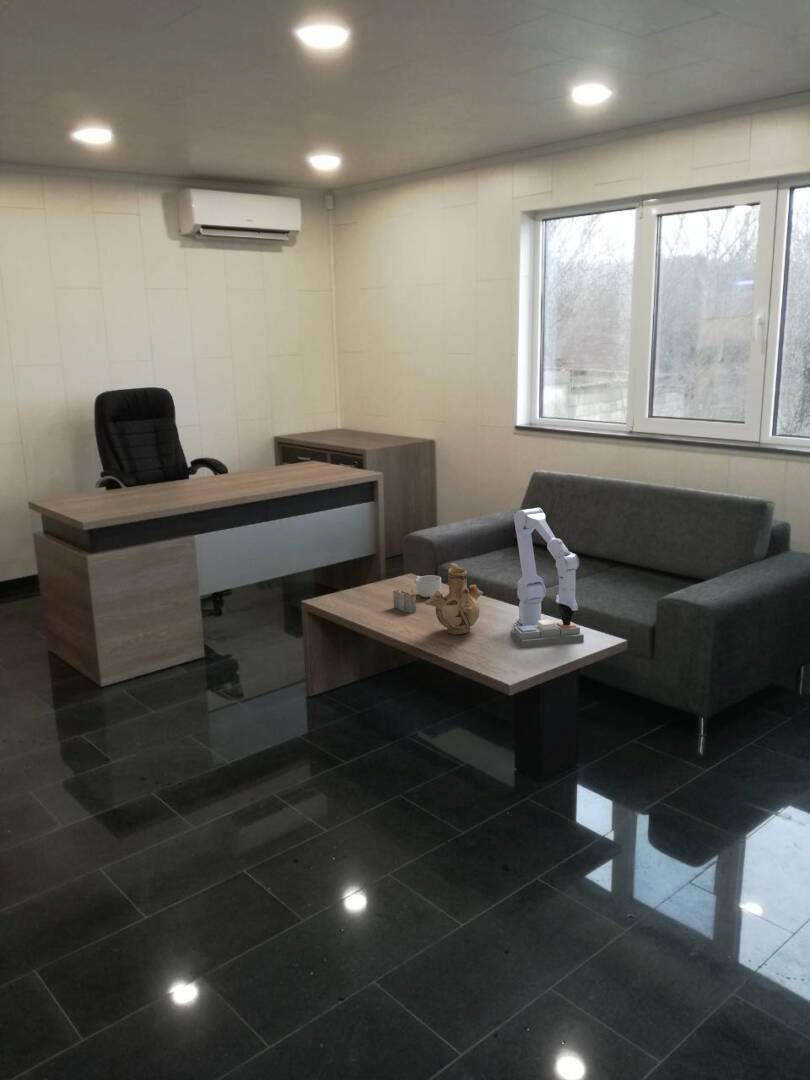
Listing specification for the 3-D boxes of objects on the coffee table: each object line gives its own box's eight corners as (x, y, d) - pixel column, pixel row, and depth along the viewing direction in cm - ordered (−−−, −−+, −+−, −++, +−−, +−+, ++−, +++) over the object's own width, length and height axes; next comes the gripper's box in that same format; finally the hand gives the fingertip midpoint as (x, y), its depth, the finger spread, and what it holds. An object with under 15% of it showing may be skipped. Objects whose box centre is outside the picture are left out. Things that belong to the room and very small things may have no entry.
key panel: (510, 637, 310) (510, 625, 309) (569, 631, 315) (569, 619, 314) (522, 647, 299) (522, 635, 298) (583, 641, 304) (583, 629, 303)
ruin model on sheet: (417, 613, 343) (416, 589, 341) (411, 614, 342) (410, 591, 340) (399, 607, 352) (399, 584, 350) (393, 608, 350) (393, 585, 348)
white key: (537, 627, 308) (537, 620, 307) (550, 626, 309) (550, 619, 308) (542, 631, 303) (542, 624, 303) (556, 630, 304) (556, 623, 304)
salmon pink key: (557, 629, 310) (557, 622, 309) (569, 628, 311) (570, 621, 310) (562, 633, 305) (562, 626, 304) (575, 632, 306) (575, 625, 306)
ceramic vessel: (424, 635, 314) (423, 569, 309) (446, 620, 331) (445, 558, 326) (470, 642, 306) (470, 574, 301) (490, 626, 323) (490, 562, 317)
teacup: (446, 597, 364) (446, 579, 362) (424, 601, 358) (424, 582, 357) (429, 590, 375) (429, 572, 374) (408, 593, 370) (407, 575, 369)
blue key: (517, 633, 306) (517, 626, 306) (531, 631, 308) (531, 625, 307) (522, 637, 302) (522, 630, 301) (536, 636, 303) (536, 629, 302)
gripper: (548, 583, 311) (548, 619, 313) (564, 594, 297) (564, 631, 300) (566, 582, 312) (566, 617, 315) (583, 592, 298) (582, 629, 301)
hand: (566, 624), depth 307 cm, fingers closed, pressing on salmon pink key
